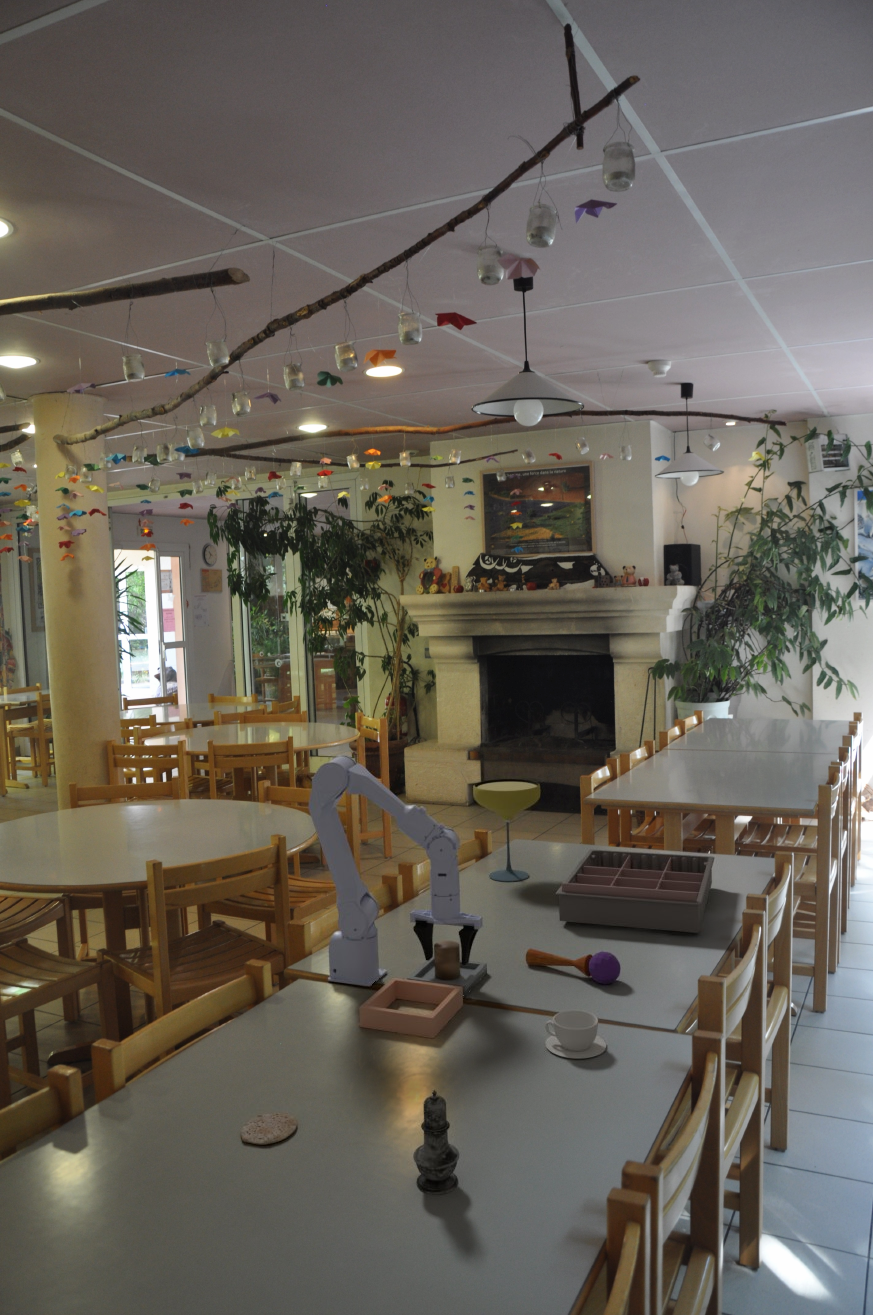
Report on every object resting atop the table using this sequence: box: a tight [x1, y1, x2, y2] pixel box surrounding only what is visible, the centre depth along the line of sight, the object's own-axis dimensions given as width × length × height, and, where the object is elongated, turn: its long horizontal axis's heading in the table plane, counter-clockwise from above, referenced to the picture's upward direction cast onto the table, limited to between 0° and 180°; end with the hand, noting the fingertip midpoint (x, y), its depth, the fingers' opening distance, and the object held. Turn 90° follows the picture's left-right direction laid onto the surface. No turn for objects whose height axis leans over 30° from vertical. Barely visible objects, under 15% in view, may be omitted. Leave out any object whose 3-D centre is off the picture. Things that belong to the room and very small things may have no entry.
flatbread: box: [240, 1111, 298, 1146], centre depth 133 cm, size 8×8×1 cm
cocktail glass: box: [472, 778, 541, 883], centre depth 255 cm, size 18×18×25 cm
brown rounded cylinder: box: [433, 940, 461, 980], centre depth 185 cm, size 5×5×6 cm
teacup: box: [544, 1009, 607, 1059], centre depth 156 cm, size 10×10×5 cm
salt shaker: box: [412, 1089, 460, 1196], centre depth 120 cm, size 6×6×12 cm
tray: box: [406, 956, 488, 997], centre depth 185 cm, size 12×12×2 cm
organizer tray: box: [555, 849, 715, 934], centre depth 227 cm, size 32×40×10 cm
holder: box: [358, 977, 464, 1039], centre depth 169 cm, size 14×14×4 cm
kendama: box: [525, 948, 621, 985], centre depth 186 cm, size 6×6×20 cm
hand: (447, 961), depth 185 cm, fingers open, 7 cm apart
